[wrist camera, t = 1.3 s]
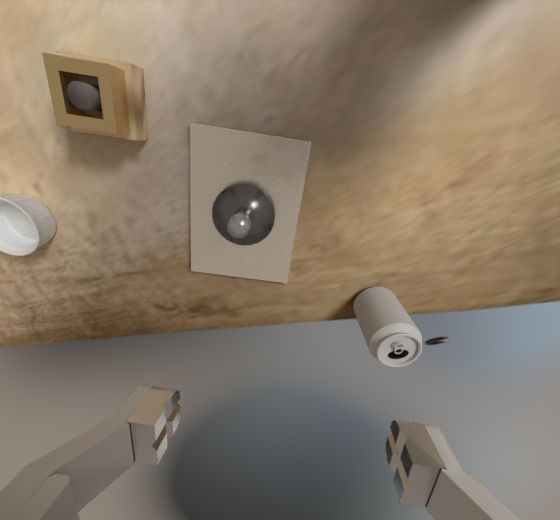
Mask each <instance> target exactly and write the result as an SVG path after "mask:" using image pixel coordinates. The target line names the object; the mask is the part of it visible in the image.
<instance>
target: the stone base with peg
mask: <svg viewBox="0 0 560 520" xmlns="http://www.w3.org/2000/svg"><path fill="white" fill-rule="evenodd" d="M311 145H312V141H306V140H299V139H293V138H287V137H281V136H274V135H268V134H262V133H255V132H249V131H243V130H236V129H230V128H224V127H217V126H211V125H205V124H199V123H192V122H190V209H191V271H195V272H203V273H210V274H218V275H226V276H234V277H241V278H249V279H257V280H265V281H273V282H280V283H287V279H288V273H289V267H290V262H291V256H292V251H293V245H294V240H295V234H296V229H297V223H298V217H299V212H300V206H301V201H302V195H303V190H304V184H305V179H306V173H307V167H308V162H309V156H310V151H311Z"/></svg>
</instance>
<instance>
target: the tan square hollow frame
mask: <svg viewBox="0 0 560 520" xmlns="http://www.w3.org/2000/svg"><path fill="white" fill-rule="evenodd" d="M42 54H43V59H44V63H45V68H46V73H47V78H48V83H49V88H50V93H51V98H52V103H53V107H54V112H55V117H56V122H57V125H61V126H67V127H74V128H80V129H87V130H93V131H100V132H106V133H113V134H131V133H130V122H129V112H128V102H127V91H126V81H125V70H123V69H121V68H118V67H115V66H113V65H110V64H106V63H100V62H94V61H88V60H82V59H76V58H70V57H64V56H59V55H53V54H47V53H42ZM79 76H83V77H89V78H95V79H98V82H99V89H100V97H101V104H102V112H103V118H100V117H93V116H87V115H85V113H84V109H79V108H77V107H76V106H74V105H73V104H72V102H71V101H70V99H69V97H68V94H67V87H68V85H69V83H71V82H72V81H79Z"/></svg>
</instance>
